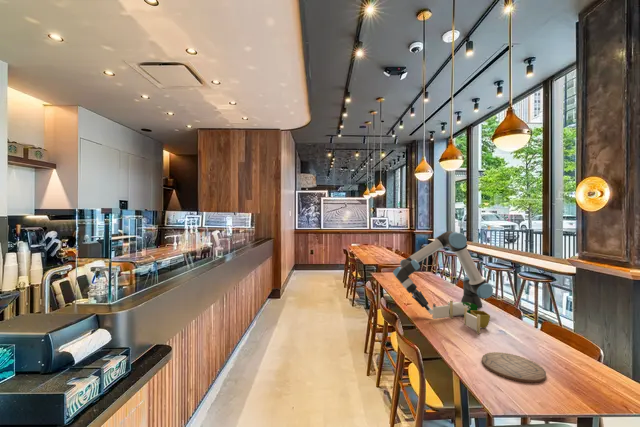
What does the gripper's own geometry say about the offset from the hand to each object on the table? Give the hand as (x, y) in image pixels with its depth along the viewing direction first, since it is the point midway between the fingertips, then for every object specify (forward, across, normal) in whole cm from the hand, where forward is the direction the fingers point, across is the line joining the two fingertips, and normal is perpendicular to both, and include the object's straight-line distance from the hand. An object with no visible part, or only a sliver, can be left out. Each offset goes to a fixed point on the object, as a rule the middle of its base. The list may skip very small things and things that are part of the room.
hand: (432, 313), depth 202 cm
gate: (+5, -1, +2) cm, 6 cm away
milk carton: (+14, -26, +16) cm, 34 cm away
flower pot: (+23, -4, +18) cm, 29 cm away
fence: (+17, 0, +12) cm, 21 cm away
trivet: (+39, +44, +34) cm, 68 cm away
